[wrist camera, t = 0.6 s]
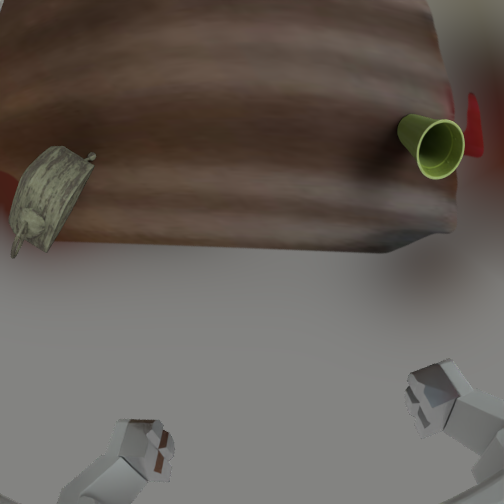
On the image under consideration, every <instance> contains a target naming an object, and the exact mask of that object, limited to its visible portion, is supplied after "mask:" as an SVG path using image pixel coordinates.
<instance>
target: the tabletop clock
mask: <svg viewBox="0 0 504 504" xmlns="http://www.w3.org/2000/svg"><path fill="white" fill-rule="evenodd" d="M95 158H96V154H95V153H94V152H91V153H89V154H88V158H85V159H83V158H82V157H80V156H78V155H77V154H75V153H74V152H72V151H71V150H69V149H67V148H66V147H64V146H52V147H50V148H48V149H47V150H46V151H44V152H43V153H42V154H41V155H40V156H39V157H38V158H37V159H36V160H35V161H34V162H33V163H32V164H31V165H30V166H29V167H28V168H27V169H26V171H25V172H24V173H23V175H22V177H21V179H20V182H19V184H18V187H17V190H16V193H15V197H14V200H13V203H12V207H11V211H10V215H9V224H10V226H11V228H12V230H13V232H14V233H15V234H16V237H15V239H14V242H13V245H12V250H11V258H15V257H16V255H17V254H18V251H19V249H20V248H21V246H22V243H23V241H24V240H26V241H28V242H29V243H31V244H32V245H34V246H36V247H37V248H39V249H41V250H42V251H44V252H46V253H47V252H48V250H49V248H50V247H51V245H52V244H53V242H54V240H55V239H56V237H57V235H58V233H59V232H60V230H61V228H62V227H63V225H64V223H65V221H66V220H67V218H68V216H69V215H70V213H71V211H72V209H73V207H74V205H75V203H76V201H77V199H78V197H79V195H80V193H81V191H82V189H83V188H84V186H85V184H86V182H87V180H88V178H89V176H90V174H91V172H92V170H93V168H94V165H93V164H91V163H89V162H88V160H91V161H93V160H94V159H95ZM19 238H20V242H19V244H18V247H17V250H16V246H17V243H18V240H19ZM15 250H16V252H15Z"/></svg>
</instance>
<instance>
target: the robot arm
mask: <svg viewBox="0 0 504 504" xmlns="http://www.w3.org/2000/svg"><path fill="white" fill-rule="evenodd" d="M407 382H408V383H409V386H408V387H407V389H406V390H405V403H406V407H407V410H408V412H409V414H410V415H411V416H413V417H415V418H416V421H415V424H414V425H415V427H416V429H417V432H418V434H419V436H420V438H421V439H423V438H426V437H428V436H431V435H433V434H436V433H438V432H441V431H443V430H444V431H443V432H444V433H446V434H447V435H449V436H451V437H452V438H454V439H455V440H457V441H458V442H460V443H461V444H463V445H465V446H466V447H467V448H469V449H471V450H472V451H474V452H475V453H477V454H478V455H480V456H481V457H480V458H479V459H478V461H477V462H476V463H475V465H474V466H473V468H472V470H471V471H472V473H473V475H474V478H475V480H476V482H477V485H475V486H474V487H472V488H470V489H468V490H466V491H465V492H462V493H460V494H459V495H457V496H455V497H453V498H451V499H448V500H446V501H444V502H442V503H440V504H504V400H503V399H501V398H498V397H496V396H493V395H491V394H489V393H486V392H484V391H482V390H479V389H475V390H473V388H472V387H471V386H470V384H469V383H468V381H467V380H466V378H465V377H464V375H463V374H462V373H461V371H460V370H459V369H458V367H457V366H456V364H455V363H454V362H453V360H452V359H450V358H448V359H446V360H443V361H441V362H438V363H436V364H432V365H430V366H427V367H425V368H422V369H420V370H417V371H414V372H412V373H410V374H409V375H408V379H407ZM163 426H164V425H163V424H162V423H161V421H160V420H134V419H119V420H118V421H117V422H116V424H115V427H114V430H113V433H112V435H111V438H110V441H109V444H108V447H107V450H106V453H105V455H101V456H100V457H99V458H97V459H96V460H95V461H94V462H93V463H92V464H91V465H90V466H88V467H87V468H86V469H85V470H84V471H82V472H81V473H80V474H79V475H78V476H77V477H76V478H74V479H73V480H72V481H71V482H70V483H68V484H67V485H66V486H65V487H64V488H62V490H61V492H60V496H59V498H58V502H57V504H131V503H132V502H133V501H134V499H135V498H136V497H137V495H138V494H139V493H140V492H141V491H142V489H143V488H144V487H145V486H146V485H147V483H148V482H147V481H152V482H170V476H171V470H172V466H171V464H170V463H169V461H170V460H171V459H172V458H173V456H174V451H175V447H174V441H173V438H172V436H171V435H170V433H169V432H167V431H165V430H163ZM0 504H20V503H18V502H16V501H14V500H12V499H10V498H8V497H6V496H4V495H2V494H0Z"/></svg>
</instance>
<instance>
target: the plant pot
mask: <svg viewBox="0 0 504 504" xmlns="http://www.w3.org/2000/svg"><path fill="white" fill-rule="evenodd" d="M397 134H398V137H399V140H400V141H401V143H402V144H403V145H404V146H405V147H406V148H407V149H408V151H409V152H410V153H411V154H412V156H413V157H414V158H415V160H416V162H417V164H418V167H419V169H420V171H421V172H422V173H423V174H424V175H425V176H426V177H428V178H431V179H441V178H444V177H446V176H448V175H450V174H451V173H452V172H453V171H454V170H455V169H456V168H457V166H458V165H459V163H460V161H461V159H462V157H463V153H464V146H465V143H464V136H463V133H462V131H461V129H460V127H459V126H458V125H457V124H456V123H454V122H453V121H450V120H435V119H431V118H427V117H424V116H420V115H416V114H409V115H407V116H406V117H404V118H403V119H402V120H401V121H400V123H399V125H398V129H397Z"/></svg>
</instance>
